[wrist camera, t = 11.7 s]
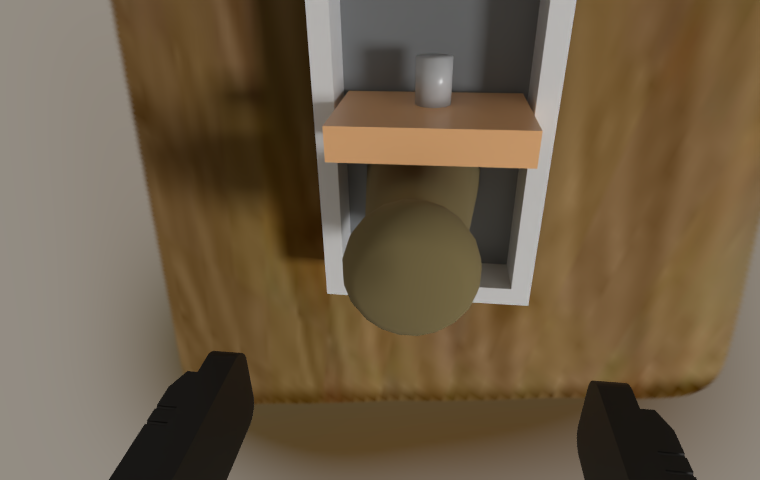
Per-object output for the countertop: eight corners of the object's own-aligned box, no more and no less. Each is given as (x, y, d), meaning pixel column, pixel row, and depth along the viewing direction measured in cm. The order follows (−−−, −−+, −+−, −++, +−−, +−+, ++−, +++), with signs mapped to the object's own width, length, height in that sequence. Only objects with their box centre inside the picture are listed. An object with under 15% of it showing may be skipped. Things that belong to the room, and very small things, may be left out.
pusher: (346, 47, 24) (318, 73, 19) (528, 48, 23) (550, 75, 18) (350, 120, 26) (324, 162, 21) (519, 124, 25) (537, 168, 20)
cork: (420, 245, 29) (406, 385, 20) (343, 173, 28) (288, 287, 18) (504, 178, 27) (534, 302, 17) (425, 94, 25) (410, 180, 16)
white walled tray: (307, -81, 23) (274, -89, 19) (583, -87, 22) (617, -98, 17) (331, 260, 32) (312, 309, 27) (529, 271, 30) (541, 323, 26)
